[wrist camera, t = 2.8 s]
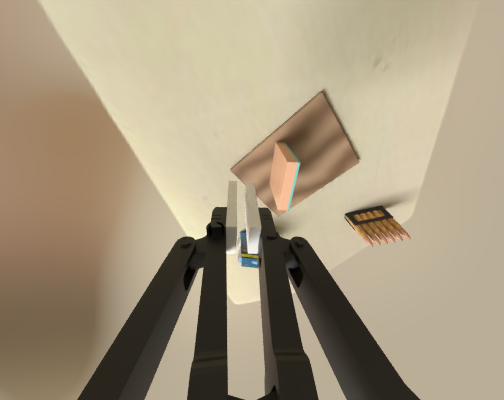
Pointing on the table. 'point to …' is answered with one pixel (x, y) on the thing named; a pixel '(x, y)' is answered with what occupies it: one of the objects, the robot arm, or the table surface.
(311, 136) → the board
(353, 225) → the ammunition clip
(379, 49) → the table surface
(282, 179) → the tile
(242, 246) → the label tape box
